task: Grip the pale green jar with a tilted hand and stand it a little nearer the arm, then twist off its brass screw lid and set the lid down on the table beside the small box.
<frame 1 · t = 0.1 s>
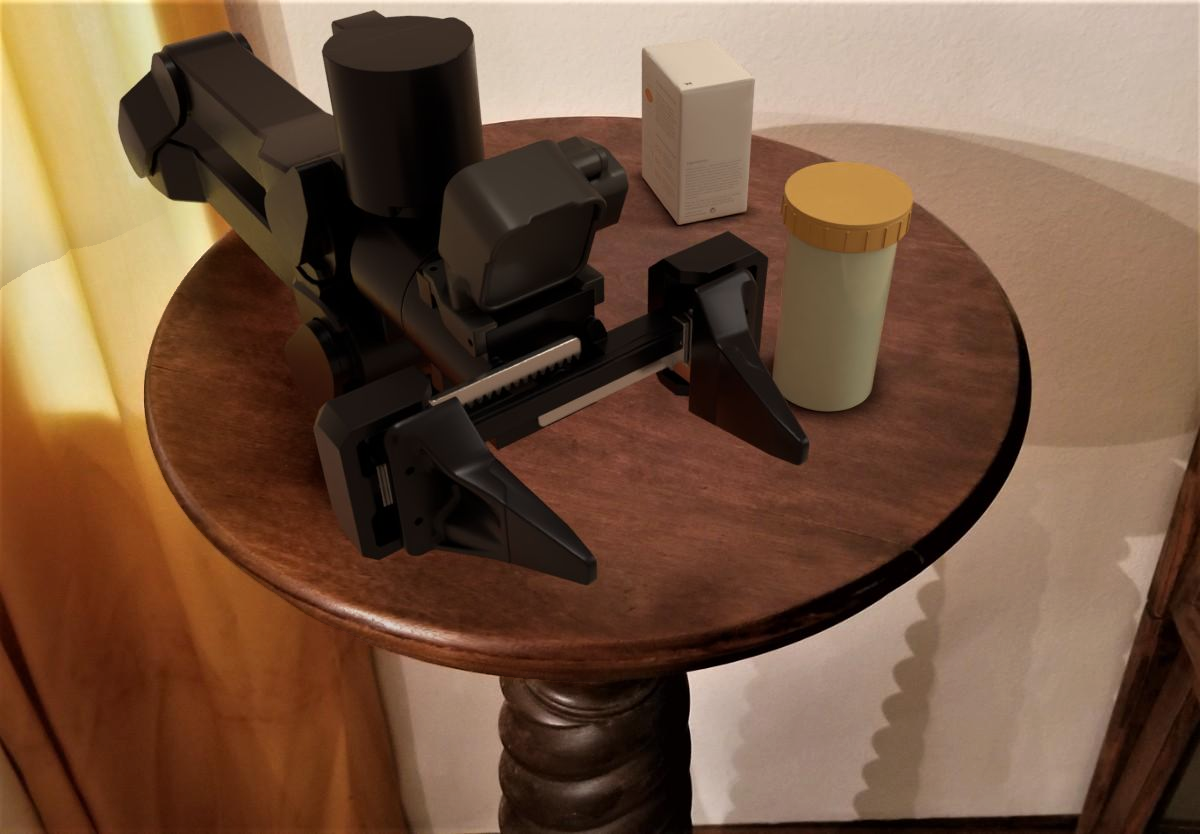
hand: (704, 510, 38), 17 cm above the table, tool horizontal, fingers open, 9 cm apart
small box: (692, 197, 87), on the table
jar lid: (847, 196, 61), point 13 cm above the table, screwed on, not yet turned
jar: (822, 380, 70), on the table
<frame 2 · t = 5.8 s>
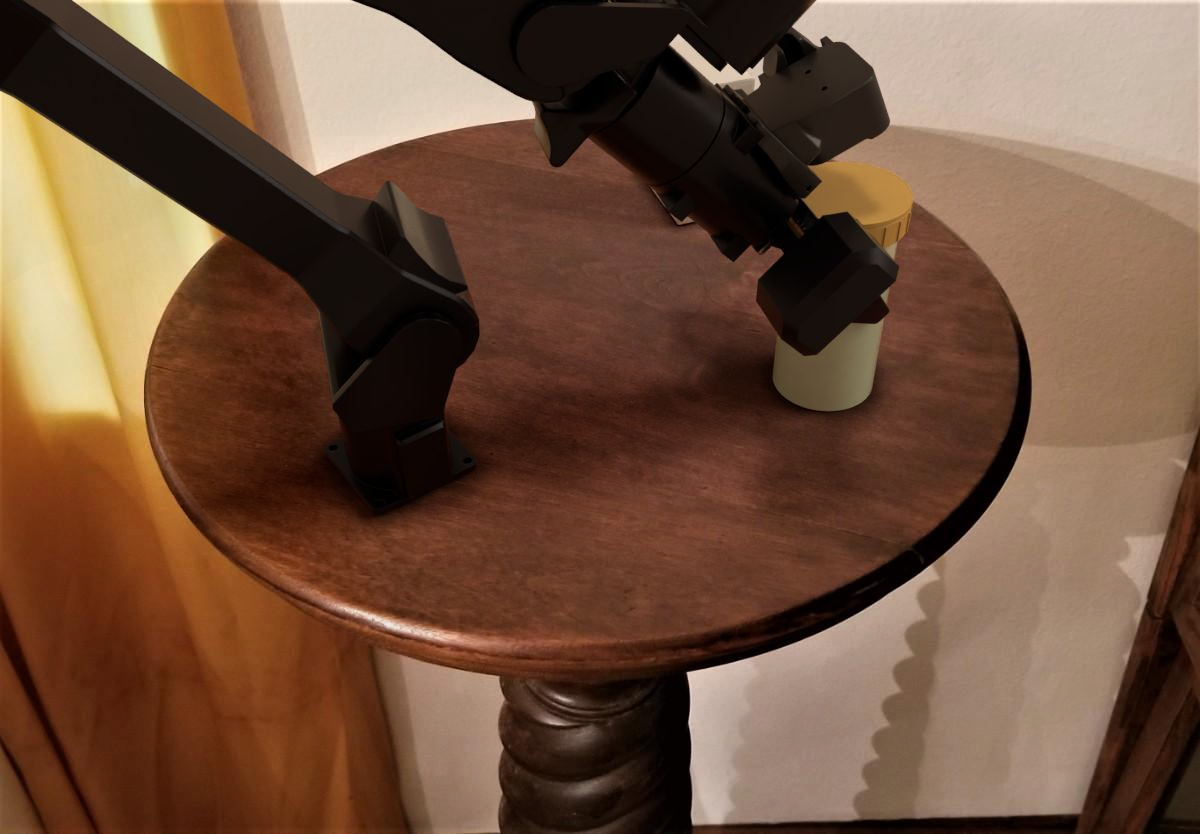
hand: (857, 285, 66), 7 cm above the table, tool tilted 45°, fingers closed on jar, 6 cm apart
jar lid: (847, 196, 61), point 13 cm above the table, screwed on, not yet turned, touching gripper
jar: (822, 380, 70), on the table, touching gripper
everything else where it was.
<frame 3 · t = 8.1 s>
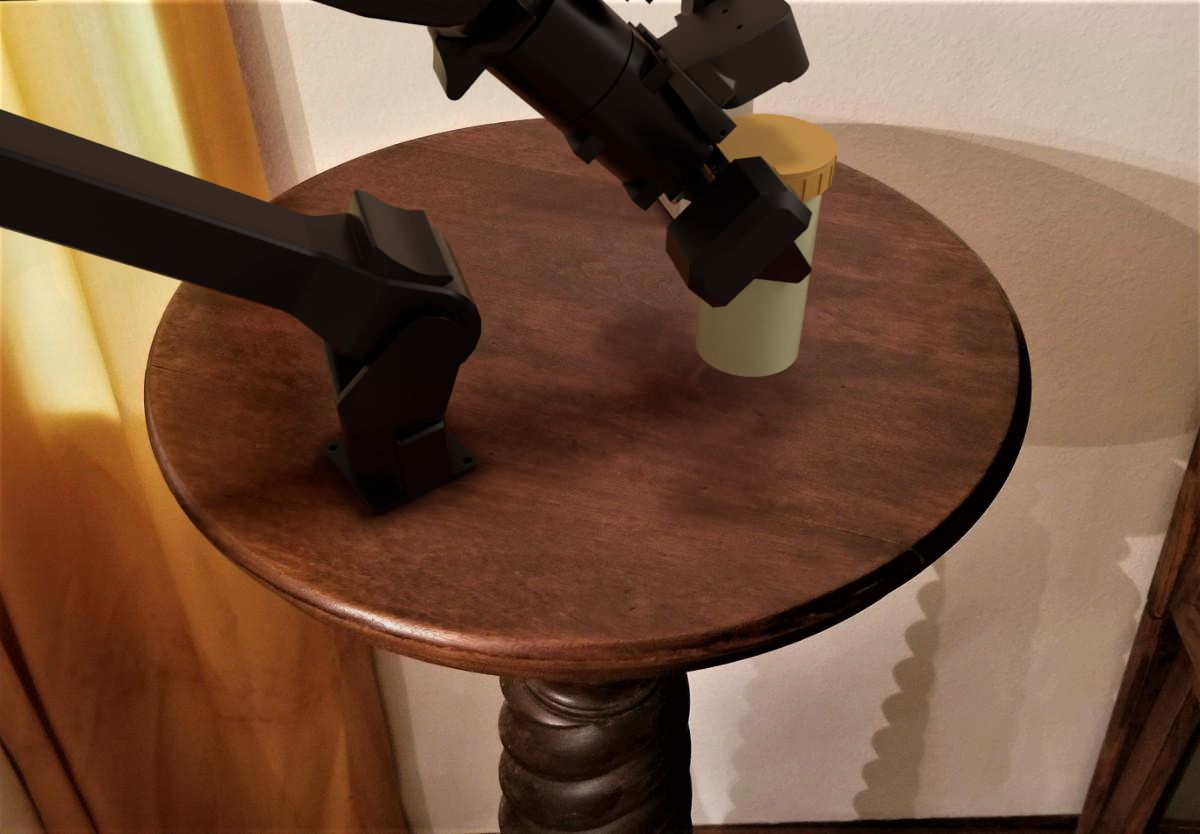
hand: (781, 245, 63), 10 cm above the table, tool tilted 45°, fingers closed on jar, 6 cm apart
jar lid: (769, 147, 59), point 16 cm above the table, screwed on, not yet turned, touching gripper
jar: (746, 345, 67), point 3 cm above the table, touching gripper
everything else where it was.
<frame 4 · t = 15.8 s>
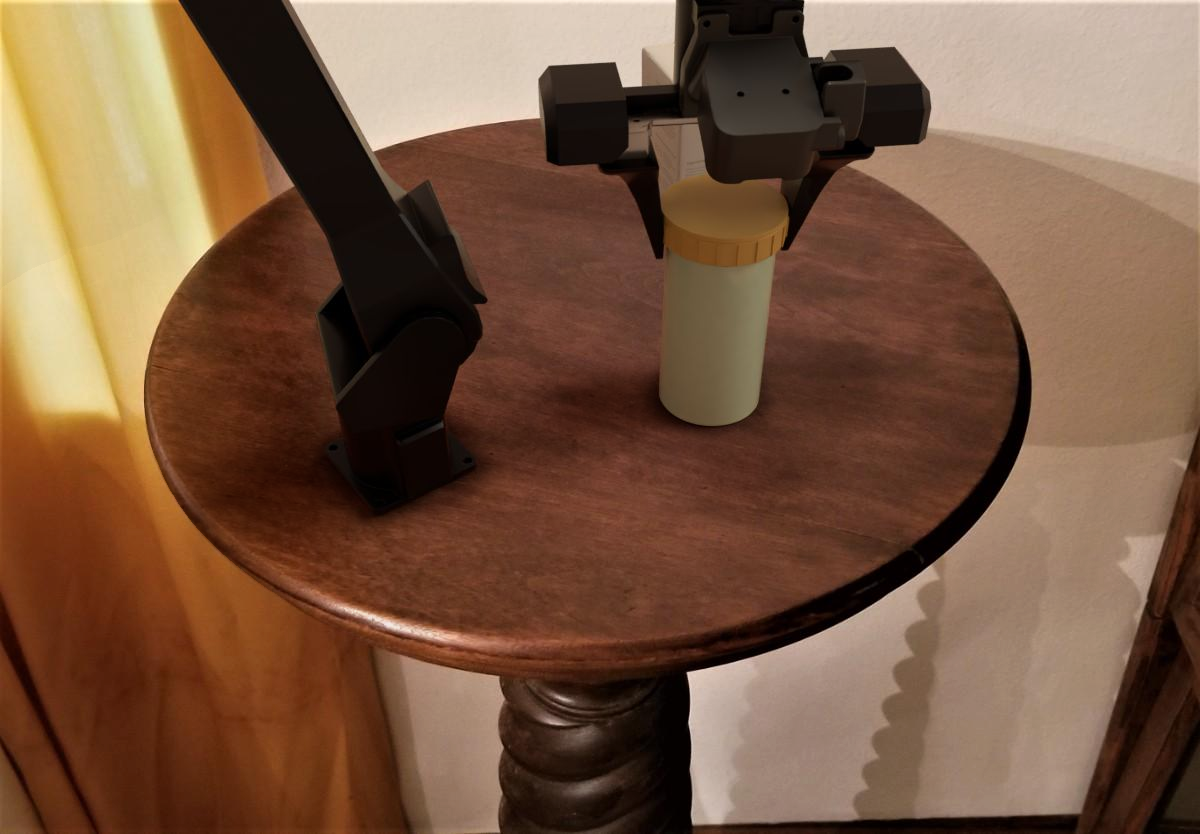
hand: (720, 251, 62), 10 cm above the table, tool pointing down, fingers closed on jar lid, 6 cm apart
jar lid: (723, 209, 61), point 13 cm above the table, screwed on, not yet turned, touching gripper
jar: (708, 393, 69), on the table
everything else where it was.
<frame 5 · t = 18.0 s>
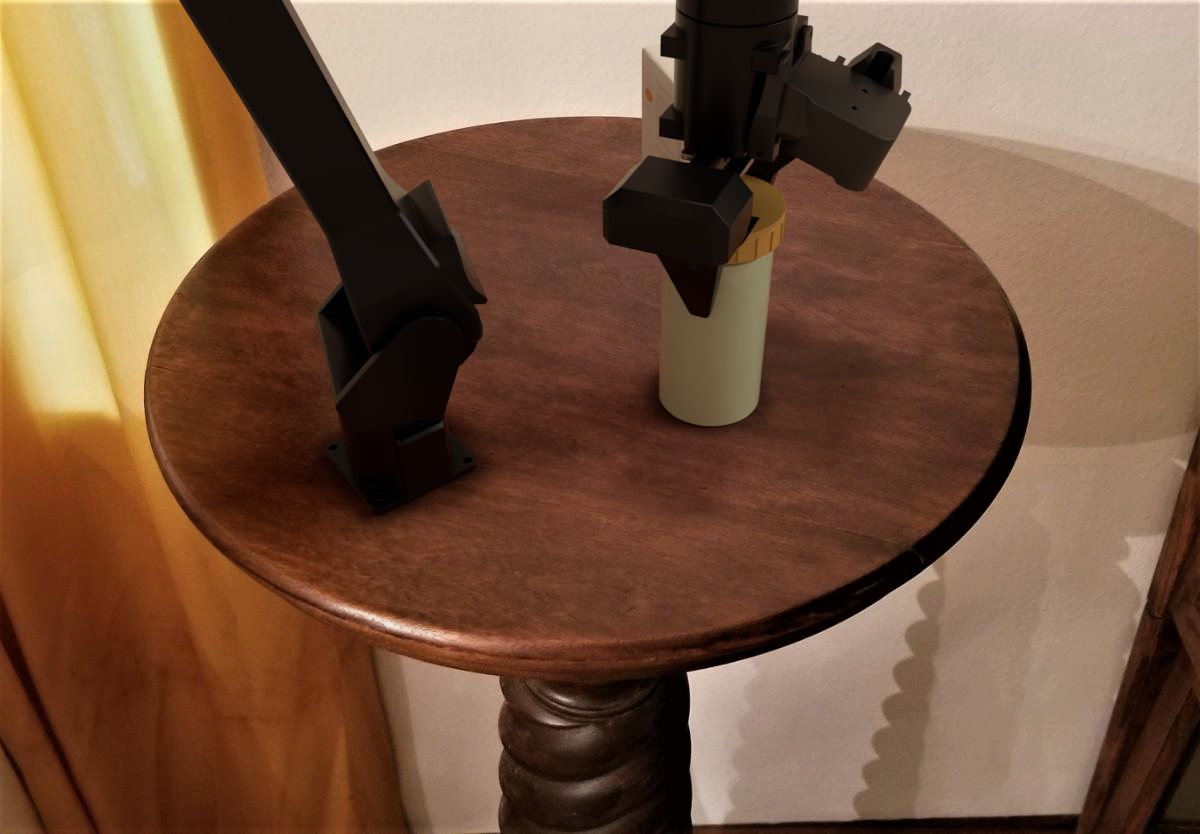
hand: (719, 284, 64), 8 cm above the table, tool pointing down, fingers closed on jar, jar lid, 6 cm apart
jar lid: (720, 207, 61), point 13 cm above the table, turned 56° so far, risen 0.1 cm, still on its thread, touching gripper
jar: (708, 394, 69), on the table, touching gripper
everything else where it was.
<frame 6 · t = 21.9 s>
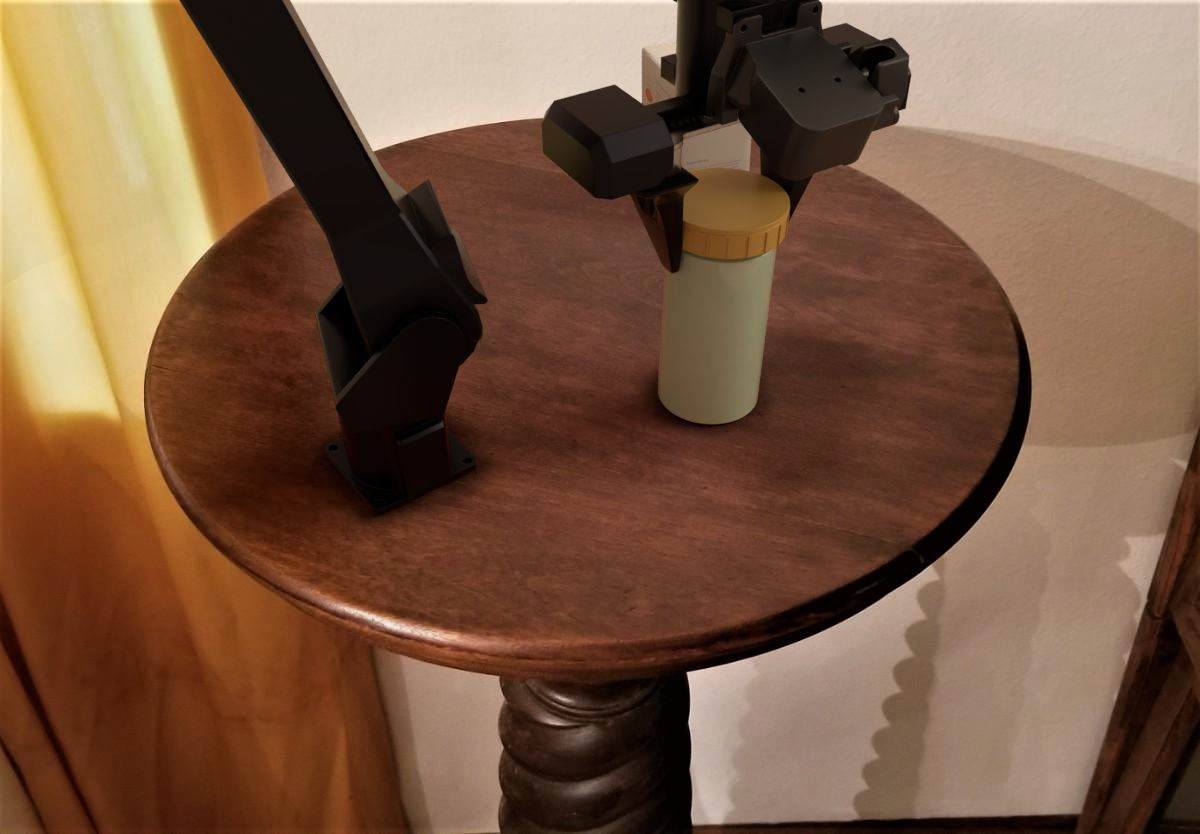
hand: (722, 251, 62), 10 cm above the table, tool pointing down, fingers closed on jar lid, 6 cm apart
jar lid: (724, 202, 61), point 13 cm above the table, turned 77° so far, risen 0.2 cm, still on its thread, touching gripper
jar: (707, 392, 69), on the table
everything else where it was.
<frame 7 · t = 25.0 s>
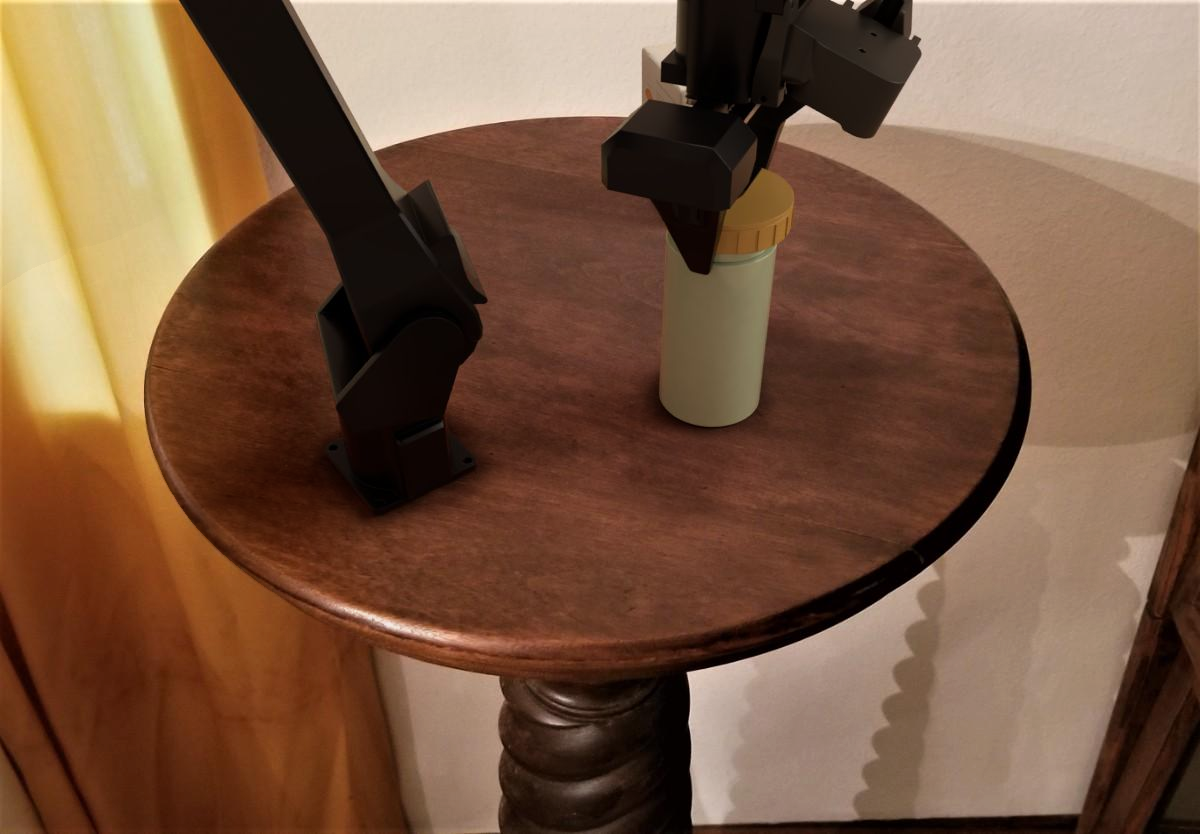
hand: (722, 240, 62), 11 cm above the table, tool pointing down, fingers closed on jar lid, 6 cm apart
jar lid: (728, 197, 60), point 13 cm above the table, off its thread, touching gripper, jar
jar: (709, 394, 69), on the table, touching jar lid
everything else where it was.
when the fingers open (0 cm above the table, at t = 31.5 s): jar lid drops 1 cm, point 1 cm above the table.
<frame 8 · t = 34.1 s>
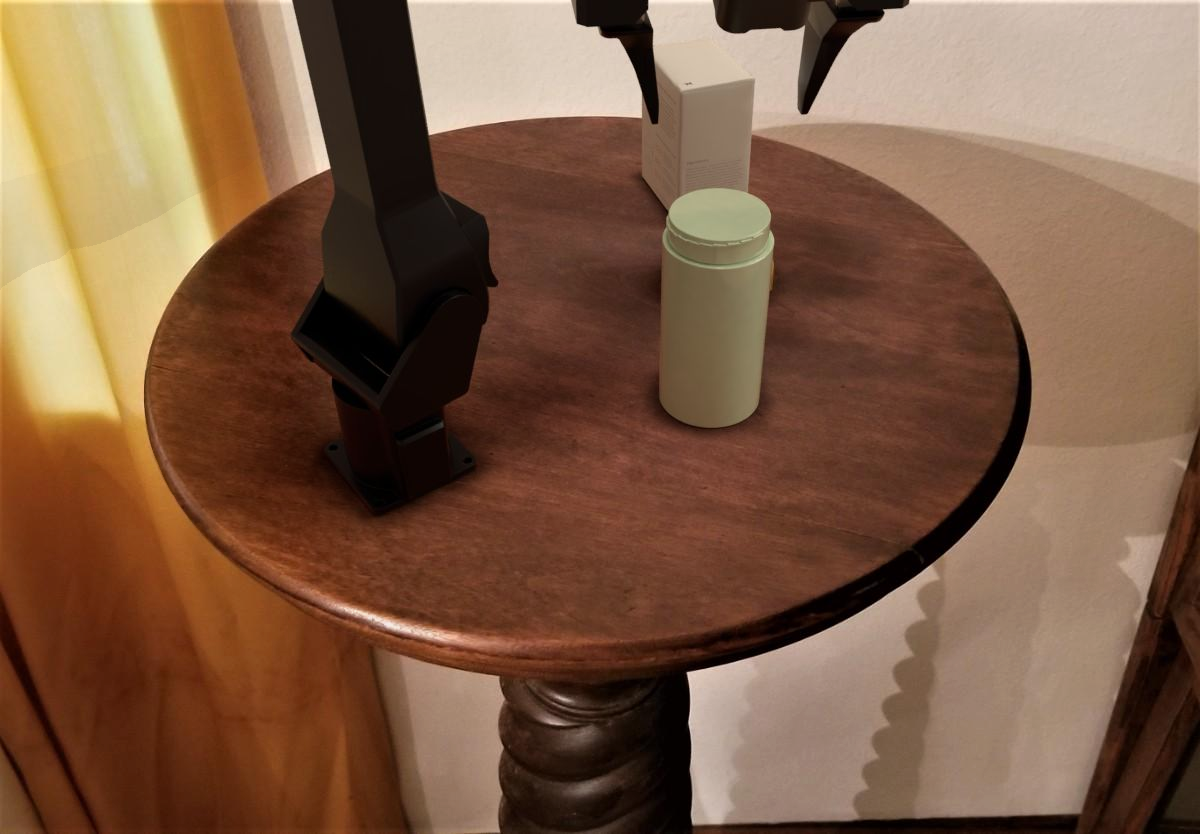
hand: (728, 116, 70), 12 cm above the table, tool pointing down, fingers open, 9 cm apart
jar lid: (722, 264, 77), point 1 cm above the table, off its thread
jar: (708, 395, 69), on the table
everything else where it was.
at the end: jar lid inside the target area on the table beside the small box (0.9 cm from its centre), point 1.6 cm above the table; the gripper is holding nothing; jar tilted 0° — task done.
